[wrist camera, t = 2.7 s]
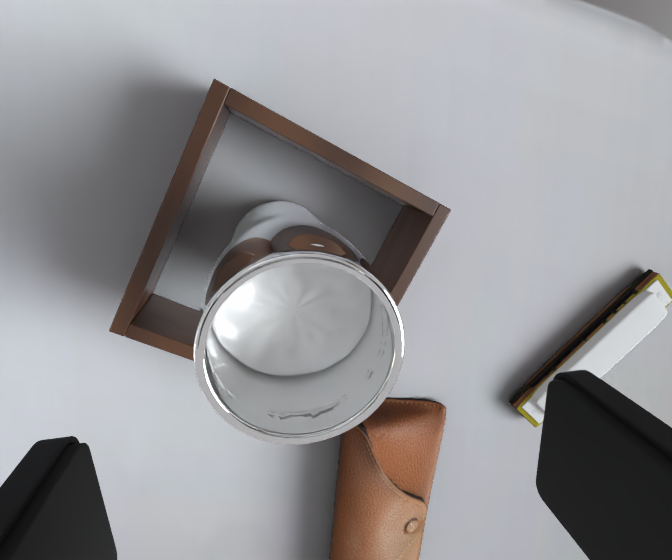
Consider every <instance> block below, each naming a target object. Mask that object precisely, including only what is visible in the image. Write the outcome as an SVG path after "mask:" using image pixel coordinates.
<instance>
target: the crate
mask: <svg viewBox="0 0 672 560" xmlns="http://www.w3.org/2000/svg"><path fill="white" fill-rule="evenodd" d="M230 112H231V113H232V114H234V115H235V116H237V117H239V118H241V119H243V120H245V121H247V122H249V123H250V124H252V125H254V126H256V127H258V128H260V129H262V130H263V131H265V132H267V133H269V134H271V135H273V136H275V137H277V138H278V139H280V140H282V141H284V142H286V143H288V144H290V145H291V146H293V147H295V148H297V149H299V150H301V151H303V152H305V153H306V154H308V155H310V156H312V157H314V158H316V159H318V160H319V161H321V162H323V163H325V164H327V165H329V166H331V167H333V168H334V169H336V170H338V171H340V172H342V173H344V174H346V175H347V176H349V177H351V178H353V179H355V180H357V181H359V182H361V183H362V184H364V185H366V186H368V187H370V188H372V189H374V190H375V191H377V192H379V193H381V194H383V195H385V196H387V197H389V198H390V199H392V200H394V201H396V202H398V203H400V204H402V205H404V206H403V208H402V209H401V211H400V213H399V215H398V217H397V219H396V221H395V223H394V224H393V226H392V228H391V230H390V232H389V234H388V236H387V238H386V239H385V241H384V243H383V245H382V247H381V249H380V251H379V252H378V254H377V256H376V258H375V260H374V262H373V264H372V268H373V269H374V271H375V273H376V274H377V276H378V277H379V279H380V281H381V282H382V284H383V286H384V287H385V288H386V289H387V291H388V292H389V293H390V295H391V296H392V298H393V300H394V302H395V303H396V306H398V304H399V302H400V301H401V299H402V297H403V295H404V294H405V292H406V290H407V288H408V286H409V285H410V283H411V281H412V279H413V277H414V276H415V274H416V272H417V270H418V268H419V267H420V265H421V263H422V261H423V260H424V258H425V256H426V254H427V252H428V251H429V249H430V247H431V245H432V243H433V242H434V240H435V238H436V236H437V234H438V233H439V231H440V229H441V227H442V225H443V224H444V222H445V220H446V218H447V217H448V215H449V213H450V211H451V210H450V209H449V208H447V207H445V206H443V205H442V204H439V203H438V202H436V201H434V200H433V199H431V198H429V197H427V196H425V195H424V194H422V193H420V192H418V191H416V190H415V189H413V188H411V187H409V186H407V185H405V184H404V183H402V182H400V181H398V180H396V179H395V178H393V177H391V176H389V175H387V174H386V173H384V172H382V171H380V170H378V169H377V168H375V167H373V166H371V165H369V164H368V163H366V162H364V161H362V160H360V159H358V158H357V157H355V156H353V155H351V154H349V153H348V152H346V151H344V150H342V149H340V148H339V147H337V146H335V145H333V144H331V143H330V142H328V141H326V140H324V139H322V138H321V137H319V136H317V135H315V134H313V133H312V132H310V131H308V130H306V129H304V128H302V127H301V126H299V125H297V124H295V123H293V122H292V121H290V120H288V119H286V118H284V117H283V116H281V115H279V114H277V113H275V112H274V111H272V110H270V109H268V108H266V107H265V106H263V105H261V104H259V103H257V102H256V101H254V100H252V99H250V98H248V97H246V96H245V95H243V94H241V93H239V92H237V91H236V90H234V89H232V88H230V87H228V86H227V85H225V84H223V83H221V82H219V81H218V80H216V79H214V80H213V82H212V84H211V87H210V89H209V92H208V94H207V97H206V99H205V101H204V104H203V106H202V109H201V111H200V113H199V116H198V118H197V121H196V123H195V125H194V128H193V130H192V133H191V135H190V137H189V140H188V142H187V145H186V147H185V149H184V152H183V154H182V157H181V159H180V161H179V164H178V166H177V169H176V171H175V173H174V176H173V178H172V181H171V183H170V185H169V188H168V190H167V193H166V195H165V197H164V200H163V202H162V205H161V207H160V209H159V212H158V214H157V217H156V219H155V221H154V224H153V226H152V229H151V231H150V233H149V236H148V238H147V241H146V243H145V245H144V248H143V250H142V253H141V255H140V257H139V260H138V262H137V265H136V267H135V269H134V272H133V274H132V277H131V279H130V282H129V284H128V286H127V289H126V291H125V294H124V296H123V298H122V301H121V303H120V306H119V308H118V310H117V313H116V315H115V318H114V320H113V322H112V325H111V327H110V330H109V331H110V332H113V333H116V334H119V335H121V336H125V337H128V338H130V339H133V340H136V341H139V342H142V343H145V344H147V345H150V346H153V347H156V348H159V349H162V350H164V351H167V352H170V353H173V354H176V355H179V356H181V357H184V358H187V359H190V360H193V361H194V341H195V335H196V331H197V328H198V321H199V314H200V312H199V311H196V310H194V309H191V308H188V307H186V306H183V305H181V304H178V303H176V302H173V301H170V300H168V299H165V298H163V297H160V296H157V295H155V294H152V293H153V291H154V289H155V286H156V284H157V282H158V279H159V277H160V275H161V272H162V270H163V268H164V265H165V263H166V261H167V259H168V256H169V254H170V252H171V249H172V247H173V245H174V242H175V240H176V238H177V235H178V233H179V231H180V228H181V226H182V224H183V221H184V219H185V217H186V214H187V212H188V210H189V207H190V205H191V203H192V200H193V198H194V196H195V193H196V191H197V189H198V186H199V184H200V182H201V180H202V177H203V175H204V173H205V170H206V168H207V166H208V163H209V161H210V159H211V156H212V154H213V152H214V149H215V147H216V145H217V142H218V140H219V138H220V135H221V133H222V131H223V128H224V126H225V124H226V121H227V119H228V117H229V114H230Z"/></svg>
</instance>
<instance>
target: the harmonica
mask: <svg viewBox="0 0 672 560" xmlns="http://www.w3.org/2000/svg"><path fill="white" fill-rule="evenodd" d="M671 302H672V291H671V289H670V288H669V287H668V285H667V284H666V282H665V281H664V280H663V278H662V277H661V275H660V274H659V273H655V272H653V271H652V270H650V269H649V270H647V271H646V272H645V273H644V274H643V275H642V276H641V277H640V278H639V279H638V280H636V281H635V282H634V283H633V284H632V285H631V286H630V287H627V288H625V289H624V290H623V291H622V292H621V293H620V294H618V295H617V296H616V297H615V298H614V299H613V300H612V301H611V302H610V303H609V304H608V305H607V306H606V307H605V308H604V309H603V310H602V311H601V312H599V313H598V314H597V315H596V316H595V317H594V318H593V319H592V320H591V321H590V322H589V323H588V324H587V325H586V326H585V327H584V328H583V329H582V330H581V331H579V332H578V333H577V334H576V335H575V336H574V337H573V338H572V339H571V340H570V341H569V342H568V343H567V344H566V345H565V346H564V347H563V348H562V349H560V350H559V351H558V352H557V353H556V354H555V355H554V356H553V357H552V358H551V359H550V360H549V361H548V362H547V363H546V364H545V365H544V366H543V367H542V368H540V369H539V370H538V371H537V372H536V373H535V374H534V375H533V376H532V377H531V378H530V379H529V380H528V381H527V382H526V383H525V387H524V388H523V389H522V390H520V391H519V392H518V393H517V394H516V395H515V396H514V397H513V398H512V399H511V400H510V401H509V403H510V404H511V405H512V406H513V407H514V408H515V409H516V410H518V411H519V412H520V413H521V414H522V415H523V416H524V417H525V418H526V419H527V420H528V421H529V422H530V423H531V424H532V425H533V426H534V427H537V426H538V425H540V424H541V423H542V422H543V419H544V411H545V403H546V395H547V387H548V384H549V382H550V381H552V380H553V378H554V377H555V375H556V374H558V373H560V372H568V371H576V370H587V371H589V372H591V373H592V374H594V375H595V376H597V377H598V378H601V377H602V376H603V375H605V374H606V373H607V372H608V371H609V370H610V369H611V368H612V367H613V366H614V365H615V364H616V363H617V362H619V361H620V360H621V359H622V358H623V357H624V356H625V355H626V354H627V353H628V352H629V351H630V350H631V349H633V348H634V347H635V346H636V345H637V344H638V343H639V342H640V341H641V340H642V339H643V338H644V337H645V336H647V335H648V334H649V333H650V332H651V331H652V330H653V329H654V328H655V327H656V326H657V325H658V324H659V323H660V322H661V321H662V320H663V319H664V317H665V316H666V314H667V310H666V308H665V307H667V306H668V305H669V304H670V303H671Z"/></svg>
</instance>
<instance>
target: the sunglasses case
mask: <svg viewBox="0 0 672 560" xmlns="http://www.w3.org/2000/svg"><path fill="white" fill-rule="evenodd" d="M445 420H446V407H445V406H444V405H442V404H441V403H439V402H437V401H429V400H419V399H405V398H386V399H385V400H384V401H383V402H382V404H381V405H380V406H379V407H378V408H377V409H376V410H375V411H374V412H373V413H372V414H371V415H370V416H369V417H368V418H366V419H365V420H364V421H363V422H361V423H360V424H358V425H357V426H355V427H354V428H352V429H350V430H348V431H346V432H344V433H342V434H341V440H340V449H339V462H338V473H337V481H336V494H335V504H334V517H333V526H332V536H331V545H330V555H329V560H418V559H419V555H420V549H421V542H422V536H423V531H424V525H425V520H426V514H427V508H428V503H429V498H430V493H431V488H432V483H433V478H434V473H435V468H436V464H437V459H438V454H439V450H440V444H441V440H442V436H443V432H444V425H445Z"/></svg>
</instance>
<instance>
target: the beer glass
mask: <svg viewBox="0 0 672 560" xmlns="http://www.w3.org/2000/svg"><path fill="white" fill-rule="evenodd" d="M404 348H405V336H404V328H403V323H402V319H401V316H400V313H399V310H398V308H397V306H396V303H395V302H394V300H393V298H392V296H391V295H390V293H389V292H388V291H387V289H386V288H385V287H384V286H383V284H382V282H381V281H380V279H379V277H378V276H377V274H376V273H375V271H374V269H373V268H372V266H371V265H370V264H369V262H368V261H367V260H366V259H365V257H364V256H363V255H362V254H361V252H360V251H359V250H358V249H357V248H356V247H355V246H354V245H353V244H352V243H351V242H350V241H348V240H347V239H346V238H345V237H344V236H342V235H341V234H340V233H338V232H337V231H335V230H334V229H332V228H330V227H329V226H327V225H324V224H322V223H320V221H319V220H318V219H317V218H316V216H315V215H314V214H312V213H311V212H310V211H309V210H307V209H306V208H304V207H302V206H300V205H298V204H295V203H292V202H287V201H272V202H267V203H264V204H261V205H259V206H257V207H255V208H254V209H252V210H251V211H249V212H248V213H247V214H246V215H245V216H244V217H243V218H242V219H241V221H240V222H239V224H238V225H237V227H236V229H235V232H234V235H233V239H232V241H231V242H230V243H229V245H228V246H227V247H226V248H225V249H224V250H223V252H222V253H221V255H220V256H219V258H218V260H217V261H216V263H215V265H214V267H213V269H212V271H211V273H210V275H209V278H208V281H207V283H206V287H205V290H204V294H203V298H202V302H201V308H200V314H199V321H198V328H197V331H196V335H195V341H194V367H195V372H196V376H197V380H198V383H199V386H200V388H201V390H202V392H203V394H204V396H205V398H206V399H207V401H208V403H209V404H210V405H211V407H212V408H213V409H214V410H215V412H216V413H217V414H218V415H219V416H220V417H221V418H222V419H224V420H225V421H226V422H227V423H228V424H230V425H231V426H233V427H234V428H236V429H237V430H239V431H241V432H243V433H245V434H247V435H249V436H251V437H254V438H257V439H260V440H263V441H267V442H272V443H278V444H308V443H314V442H319V441H323V440H326V439H330V438H332V437H335V436H338V435H340V434H342V433H344V432H346V431H348V430H350V429H352V428H354V427H355V426H357V425H358V424H360V423H361V422H363V421H364V420H365V419H366V418H368V417H369V416H370V415H371V414H372V413H373V412H374V411H375V410H376V409H377V408H378V407H379V406H380V405H381V404H382V402H383V401H384V400H385V399H386V397H387V396H388V394H389V393H390V391H391V390H392V388H393V386H394V384H395V382H396V380H397V378H398V375H399V373H400V369H401V366H402V362H403V357H404Z"/></svg>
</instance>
